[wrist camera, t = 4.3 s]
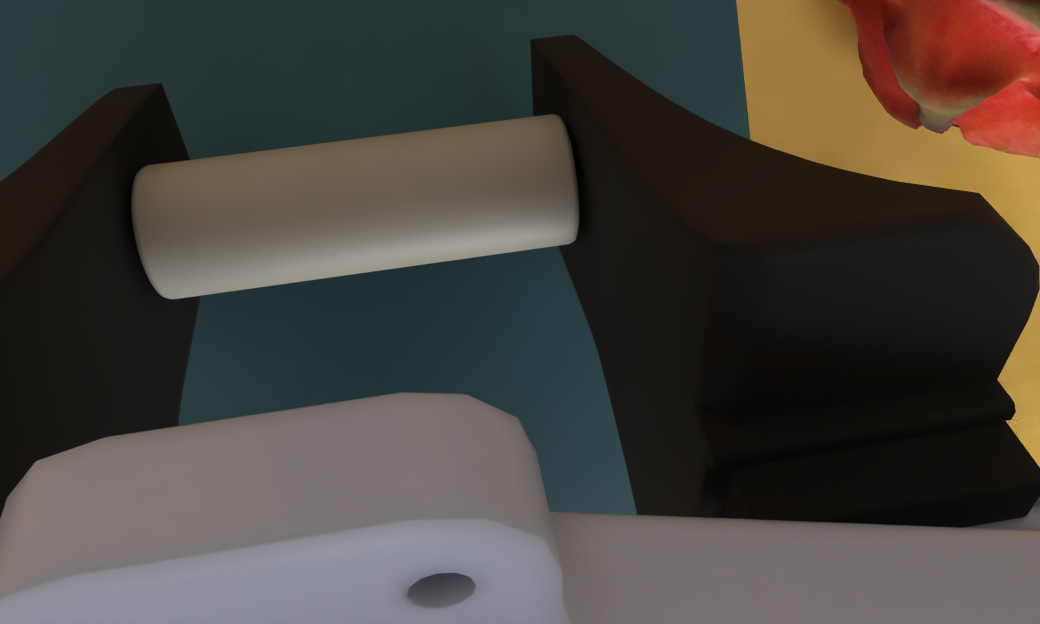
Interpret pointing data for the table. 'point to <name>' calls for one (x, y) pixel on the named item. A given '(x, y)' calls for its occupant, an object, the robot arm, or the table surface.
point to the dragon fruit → (956, 66)
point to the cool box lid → (371, 193)
